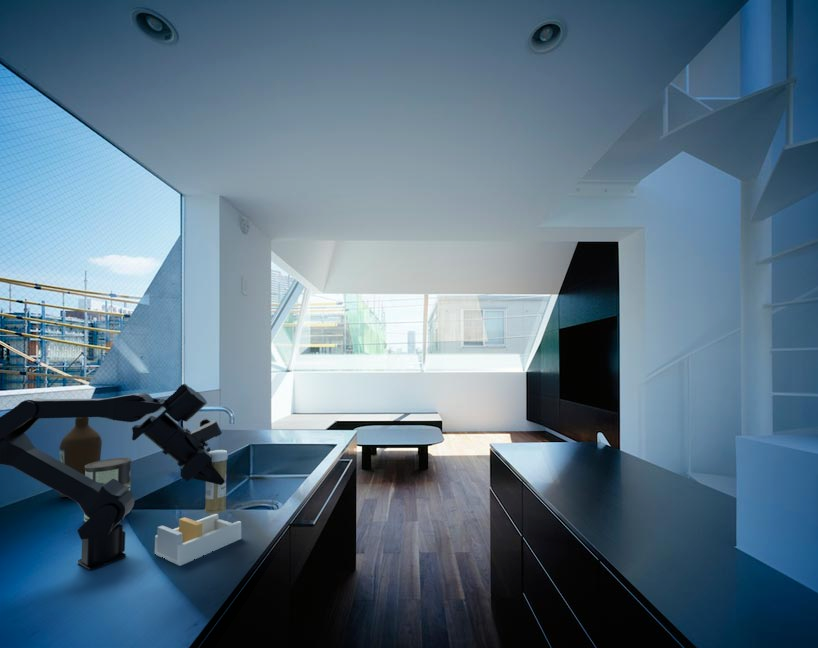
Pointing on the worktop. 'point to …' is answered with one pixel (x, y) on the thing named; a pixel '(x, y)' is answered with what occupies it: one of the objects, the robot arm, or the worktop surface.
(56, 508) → the worktop surface
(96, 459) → the olive oil
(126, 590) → the worktop surface
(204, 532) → the tray
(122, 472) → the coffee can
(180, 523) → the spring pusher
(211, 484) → the sprinkles bottle
